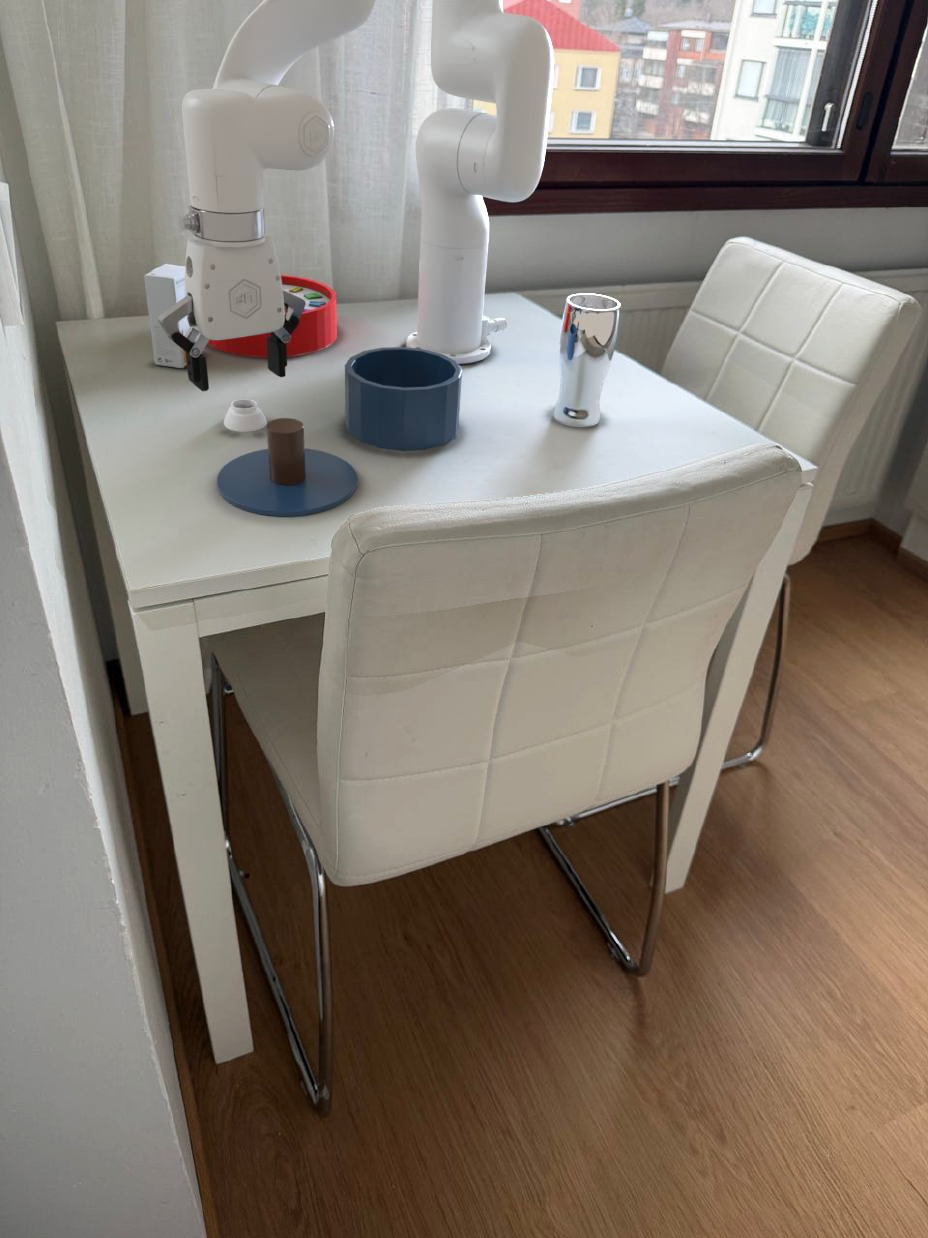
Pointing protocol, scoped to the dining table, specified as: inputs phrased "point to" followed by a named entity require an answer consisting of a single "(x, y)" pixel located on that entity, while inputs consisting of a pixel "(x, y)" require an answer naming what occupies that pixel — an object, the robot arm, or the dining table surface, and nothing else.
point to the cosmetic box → (161, 295)
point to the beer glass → (585, 356)
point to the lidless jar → (244, 416)
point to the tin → (402, 398)
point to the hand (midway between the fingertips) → (239, 379)
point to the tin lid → (286, 476)
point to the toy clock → (309, 334)
